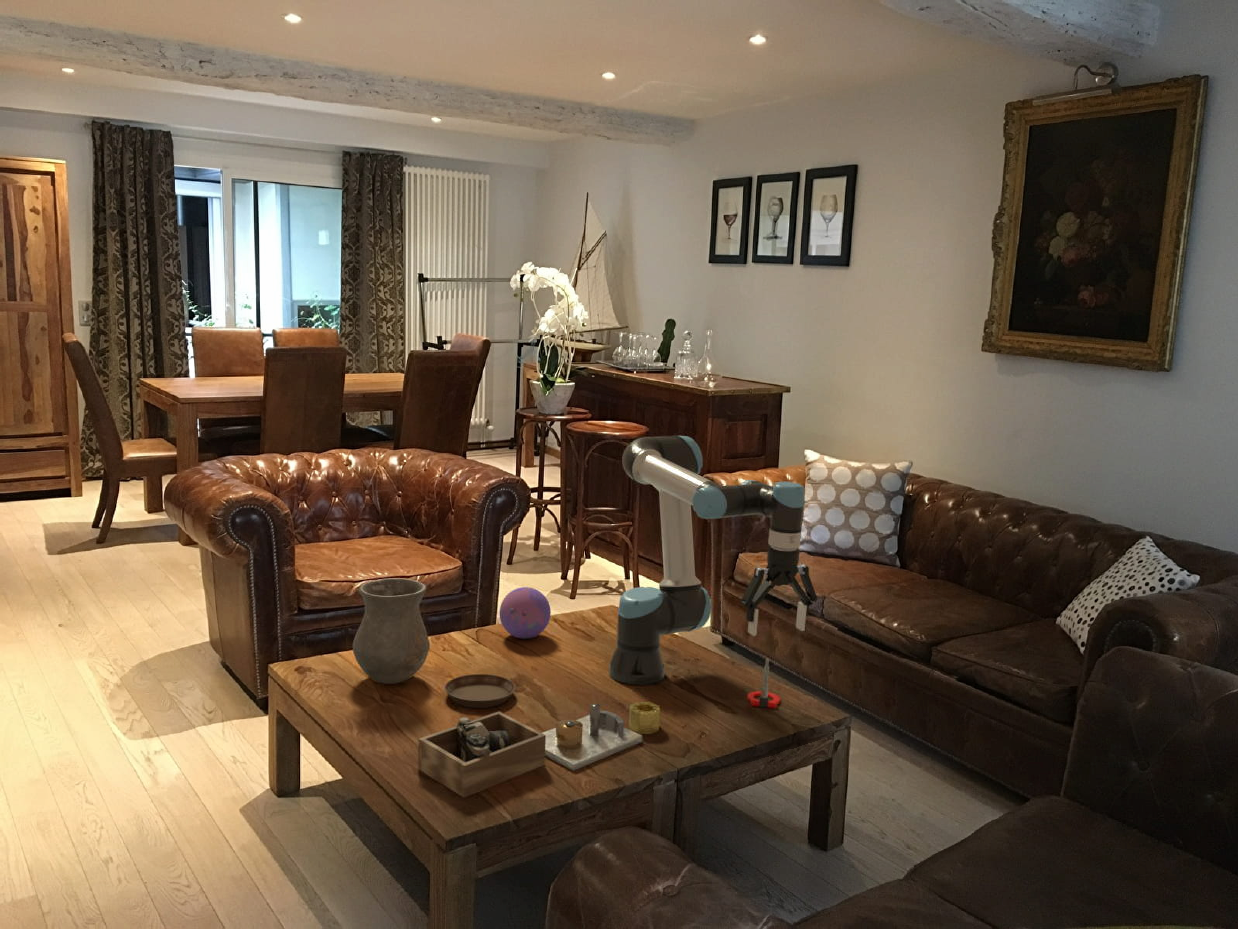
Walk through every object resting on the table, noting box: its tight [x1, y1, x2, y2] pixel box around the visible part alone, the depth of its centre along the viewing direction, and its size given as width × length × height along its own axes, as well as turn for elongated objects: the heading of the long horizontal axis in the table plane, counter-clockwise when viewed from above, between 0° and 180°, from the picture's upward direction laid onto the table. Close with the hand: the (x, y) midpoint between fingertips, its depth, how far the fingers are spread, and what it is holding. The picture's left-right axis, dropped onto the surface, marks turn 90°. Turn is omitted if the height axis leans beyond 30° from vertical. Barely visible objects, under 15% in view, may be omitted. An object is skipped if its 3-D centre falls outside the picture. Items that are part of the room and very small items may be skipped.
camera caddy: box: [417, 711, 546, 798], centre depth 221 cm, size 16×22×7 cm
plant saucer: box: [444, 673, 516, 709], centre depth 258 cm, size 18×18×3 cm
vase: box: [352, 577, 431, 685], centre depth 263 cm, size 20×19×25 cm
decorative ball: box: [499, 586, 552, 640], centre depth 301 cm, size 15×15×15 cm
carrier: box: [542, 703, 643, 771], centre depth 234 cm, size 16×22×8 cm
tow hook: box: [746, 657, 781, 709], centre depth 264 cm, size 8×13×9 cm
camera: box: [456, 716, 511, 762], centre depth 220 cm, size 16×10×10 cm, turn 25°
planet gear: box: [628, 701, 661, 735], centre depth 244 cm, size 7×7×5 cm
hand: (776, 631), depth 247 cm, fingers open, 13 cm apart
